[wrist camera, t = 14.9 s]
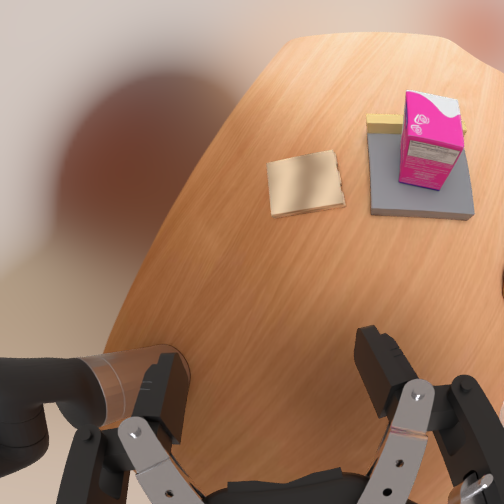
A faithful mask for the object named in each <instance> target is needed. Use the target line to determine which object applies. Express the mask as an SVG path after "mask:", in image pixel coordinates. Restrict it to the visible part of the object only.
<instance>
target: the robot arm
mask: <svg viewBox="0 0 504 504" xmlns="http://www.w3.org/2000/svg"><path fill="white" fill-rule="evenodd" d="M354 360H355V364H356V366H357V369H358V371H359V373H360V375H361V378H362V380H363V382H364V385H365V387H366V389H367V391H368V394H369V396H370V399H371V401H372V403H373V406H374V408H375V410H376V413H377V415H378V418H382V417H385V416H387V418H388V420H389V422H388V424H387V427H386V430H385V432H384V435H383V437H382V440H381V442H380V445H379V447H378V449H377V452H376V454H375V456H374V458H373V460H372V462H371V464H370V466H369V468H368V470H367V472H366V474H365V476H364V475H360V474H356V473H347V472H342V471H341V467H339V468H335V469H330V470H326V471H321V472H316V473H312V474H310V475H307V476H305V477H302V478H300V479H297V480H295V481H292V482H289V483H285V484H280V483H270V482H262V481H241V482H228V488H224V489H221V490H218V491H216V492H213V493H211V494H210V495H208V496H206V495H205V494H204V492H203V491H202V490H201V489H200V488H199V487H198V486H197V485H196V484H195V483H194V481H193V480H192V479H191V478H190V476H189V475H188V474H187V473H186V471H185V470H184V469H183V467H182V466H181V465H180V463H179V462H178V461H177V459H176V458H175V456H174V455H173V454H172V452H171V447H172V444H180V442H181V435H182V428H183V421H184V414H185V407H186V401H187V395H188V388H189V382H190V372H189V367H188V365H187V362H186V360H185V359H184V357H183V356H182V354H181V353H180V352H179V351H178V350H176V349H175V348H174V347H172V346H169V345H157V346H151V347H145V348H139V349H133V350H127V351H121V352H114V353H108V354H101V355H94V356H87V357H78V358H69V359H63V358H0V478H1V477H4V476H6V475H9V474H11V473H14V472H16V471H19V470H21V469H23V468H25V467H27V466H29V465H31V464H33V463H35V462H36V461H38V460H39V459H40V458H41V457H42V456H43V455H44V454H45V453H46V451H47V449H48V446H49V435H48V429H47V424H46V419H45V413H44V407H43V403H54V402H56V404H57V406H58V408H59V410H60V411H61V413H62V414H63V416H64V417H65V418H66V419H67V421H68V422H69V423H70V424H71V425H72V426H73V427H75V428H77V429H78V430H77V431H76V433H75V435H74V438H73V441H72V444H71V448H70V451H69V455H68V458H67V461H66V465H65V469H64V473H63V477H62V480H61V484H60V488H59V493H58V498H57V502H56V504H126V499H127V491H128V483H129V476H130V470H136V471H137V474H136V478H137V480H138V482H139V484H140V485H141V487H142V489H143V490H144V492H145V493H146V495H147V497H148V498H149V500H150V501H151V503H152V504H417V503H415V502H413V501H411V500H409V499H408V496H409V494H410V491H411V489H412V486H413V484H414V481H415V478H416V476H417V473H418V470H419V467H420V464H421V461H422V458H423V455H424V451H425V448H426V444H427V440H428V436H427V435H426V431H433V434H434V436H435V438H436V441H437V443H438V446H439V448H440V451H441V454H442V456H443V459H444V461H445V464H446V467H447V470H448V472H449V475H450V478H451V481H452V484H453V487H454V488H453V489H452V491H451V492H450V494H449V497H448V504H504V427H503V425H502V423H501V421H500V420H499V418H498V416H497V414H496V412H495V411H494V409H493V407H492V405H491V404H490V402H489V400H488V398H487V397H486V395H485V393H484V392H483V390H482V389H481V387H480V385H479V384H478V382H477V381H476V380H475V379H474V378H473V377H471V376H469V375H460V376H457V377H456V378H455V379H454V380H453V382H452V384H450V385H440V386H432V385H431V384H430V383H429V382H428V381H426V380H423V379H419V378H418V376H417V375H416V373H415V371H414V370H413V368H412V367H411V365H410V363H409V362H408V360H407V359H406V357H405V355H403V352H402V351H401V349H399V346H398V344H397V343H396V341H395V340H394V339H393V338H392V337H390V336H389V335H387V334H386V333H384V334H380V333H379V331H378V330H377V328H376V327H375V326H374V325H370V326H366V327H362V328H358V329H357V333H356V341H355V348H354ZM131 415H132V416H131ZM129 416H131V417H130V418H127V419H125V420H124V421H123V422H122V423H121V424H120V426H119V427H118V428H114V429H108V430H102V431H101V430H100V429H99V428H98V427H101V426H104V425H107V424H110V423H113V422H116V421H118V420H121V419H124V418H126V417H129Z"/></svg>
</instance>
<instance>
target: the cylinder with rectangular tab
mask: <svg viewBox="0 0 504 504" xmlns="http://www.w3.org/2000/svg"><path fill="white" fill-rule="evenodd" d="M499 419H500V421H501V423H502V425H503V427H504V402H503V404H502V407H501V410H500V415H499Z"/></svg>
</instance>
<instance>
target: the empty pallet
mask: <svg viewBox="0 0 504 504" xmlns="http://www.w3.org/2000/svg"><path fill="white" fill-rule="evenodd" d="M266 164H267V174H268V184H269V195H270V205H271V215H272V217H273V218H280V217H286V216H292V215H298V214H304V213H310V212H316V211H322V210H329V209H335V208H341V207H346V205H345V199H344V194H343V192H341V186H342V183H341V178H340V173H339V171H337V166H338V163H337V159H336V154H335V152H333V150H328V151H323V152H317V153H312V154H307V155H302V156H297V157H292V158H288V159H283V160H279V161H274V162H270V163H266Z"/></svg>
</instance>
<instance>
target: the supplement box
mask: <svg viewBox="0 0 504 504" xmlns="http://www.w3.org/2000/svg"><path fill="white" fill-rule="evenodd" d="M463 149H464V137H463V128H462V121H461V115H460V109H459V104H458V100H456V99H451V98H447V97H442V96H437V95H432V94H428V93H423V92H417V91H412V90H406V97H405V108H404V117H403V126H402V134H401V142H400V173H399V183H403V184H408V185H413V186H418V187H423V188H427V189H432V190H437V191H440V189H441V187H442V185H443V184H444V182H445V180H446V179H447V177H448V175H449V174H450V172H451V170H452V169H453V167H454V165H455V163H456V162H457V160H458V158H459V156H460V154H461V153H462V151H463Z"/></svg>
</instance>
